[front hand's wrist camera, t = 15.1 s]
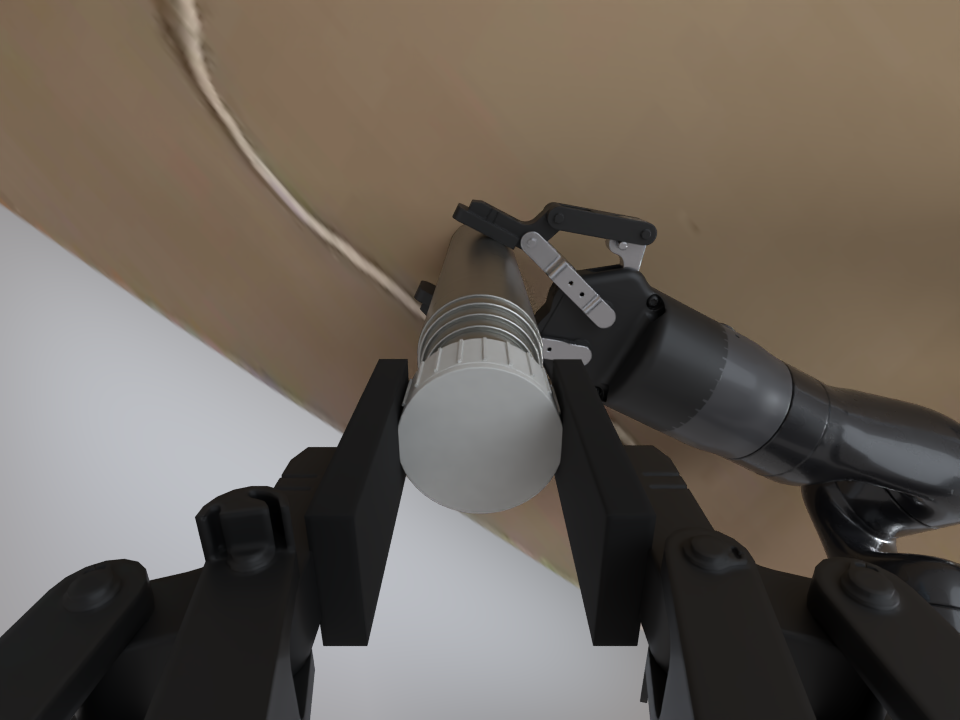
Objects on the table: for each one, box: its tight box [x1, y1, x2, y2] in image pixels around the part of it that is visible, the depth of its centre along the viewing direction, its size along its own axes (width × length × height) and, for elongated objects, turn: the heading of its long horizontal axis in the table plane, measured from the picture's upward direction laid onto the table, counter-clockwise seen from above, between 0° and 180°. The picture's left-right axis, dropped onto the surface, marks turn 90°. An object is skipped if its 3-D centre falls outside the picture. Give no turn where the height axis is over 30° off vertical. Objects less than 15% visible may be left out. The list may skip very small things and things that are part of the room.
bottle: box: [417, 224, 543, 369], centre depth 25 cm, size 4×4×25 cm
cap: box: [398, 337, 563, 514], centre depth 14 cm, size 4×4×2 cm
